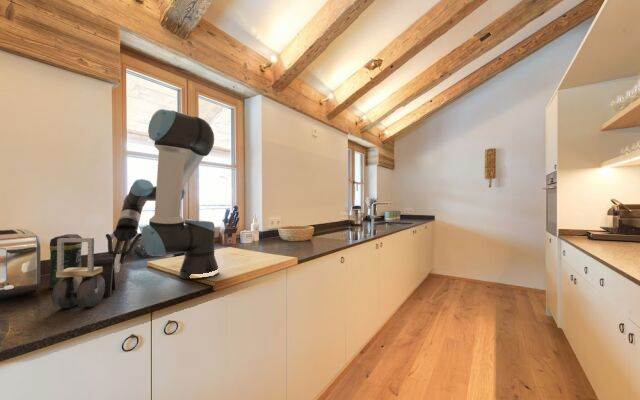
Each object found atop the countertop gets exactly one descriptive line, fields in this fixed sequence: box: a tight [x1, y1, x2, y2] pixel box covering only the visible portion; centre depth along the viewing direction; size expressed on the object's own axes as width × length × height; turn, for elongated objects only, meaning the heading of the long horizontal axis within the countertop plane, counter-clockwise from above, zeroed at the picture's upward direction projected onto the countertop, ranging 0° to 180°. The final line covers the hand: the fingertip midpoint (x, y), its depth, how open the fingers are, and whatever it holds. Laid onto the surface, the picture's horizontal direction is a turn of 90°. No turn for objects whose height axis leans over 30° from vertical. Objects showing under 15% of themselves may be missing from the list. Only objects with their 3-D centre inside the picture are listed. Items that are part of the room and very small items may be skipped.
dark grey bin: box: [94, 256, 117, 299], centre depth 92 cm, size 9×6×12 cm, turn 25°
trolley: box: [51, 237, 105, 310], centre depth 81 cm, size 9×9×20 cm
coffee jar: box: [48, 233, 83, 289], centre depth 100 cm, size 10×8×19 cm
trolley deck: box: [56, 266, 103, 277], centre depth 81 cm, size 9×5×2 cm, turn 101°
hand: (115, 270), depth 104 cm, fingers closed
